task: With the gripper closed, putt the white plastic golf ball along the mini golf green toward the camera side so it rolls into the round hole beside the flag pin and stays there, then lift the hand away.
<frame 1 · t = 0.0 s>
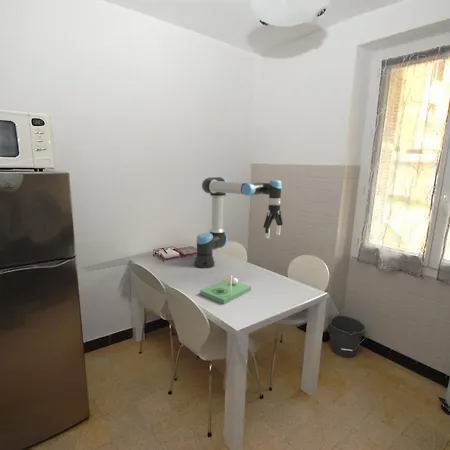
hand: (272, 236, 195), 28 cm above the table, fingers open, 13 cm apart
mini golf green: (226, 292, 173), on the table
ball: (234, 281, 178), point 4 cm above the table, touching mini golf green
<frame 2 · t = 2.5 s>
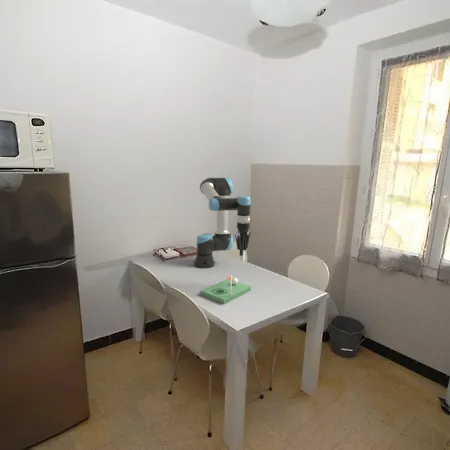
hand: (242, 260, 181), 16 cm above the table, fingers closed
nothing on the table moved.
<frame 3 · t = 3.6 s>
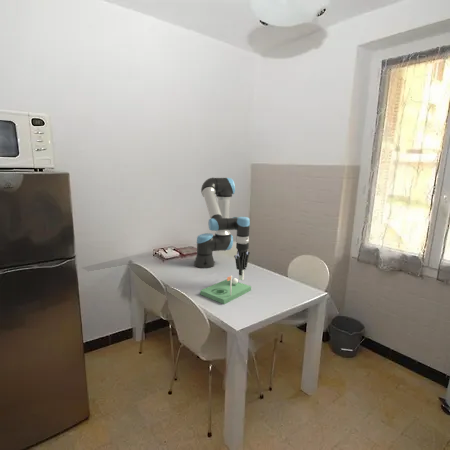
hand: (241, 279, 183), 4 cm above the table, fingers closed
nothing on the table moved.
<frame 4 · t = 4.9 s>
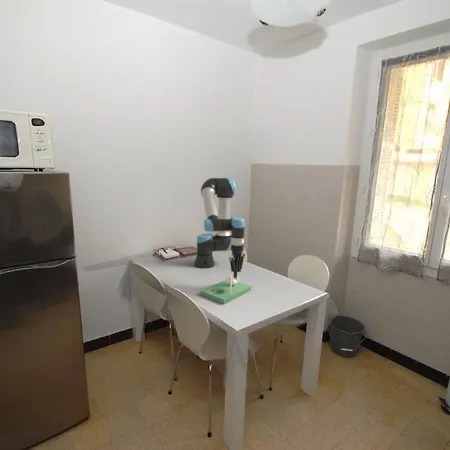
hand: (236, 281, 179), 4 cm above the table, fingers closed
ball: (233, 282, 177), point 4 cm above the table, tilted 40°, touching gripper, mini golf green
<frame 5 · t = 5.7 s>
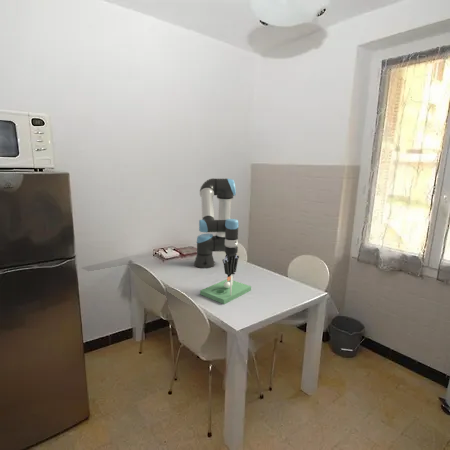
hand: (230, 284, 175), 4 cm above the table, fingers closed
ball: (227, 284, 173), point 4 cm above the table, tilted 173°, touching gripper, mini golf green
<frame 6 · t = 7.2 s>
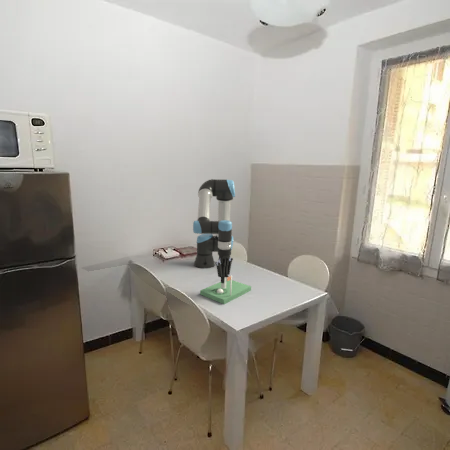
hand: (223, 287, 170), 4 cm above the table, fingers closed
ball: (220, 292, 168), point 2 cm above the table, tilted 29°
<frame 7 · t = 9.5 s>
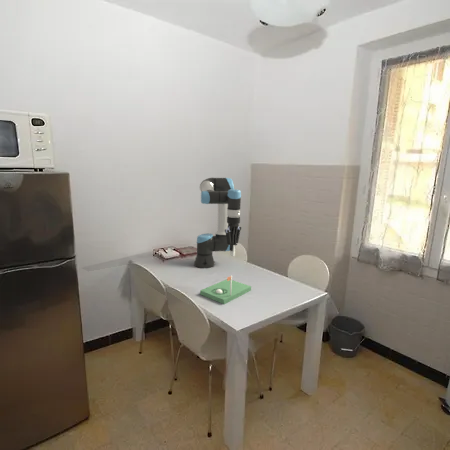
hand: (232, 255, 175), 21 cm above the table, fingers closed
ball: (219, 292, 168), point 2 cm above the table, tilted 56°
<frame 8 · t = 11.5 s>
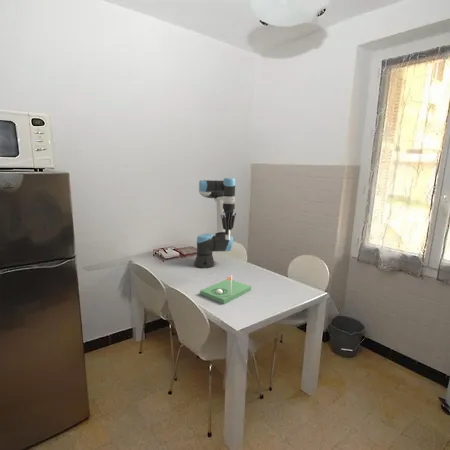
hand: (227, 239, 190), 26 cm above the table, fingers closed
ball: (219, 292, 168), point 2 cm above the table, tilted 49°
at the end: ball 0.3 cm from the target spot on the mini golf green, point 2.0 cm above the mini golf green's base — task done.
